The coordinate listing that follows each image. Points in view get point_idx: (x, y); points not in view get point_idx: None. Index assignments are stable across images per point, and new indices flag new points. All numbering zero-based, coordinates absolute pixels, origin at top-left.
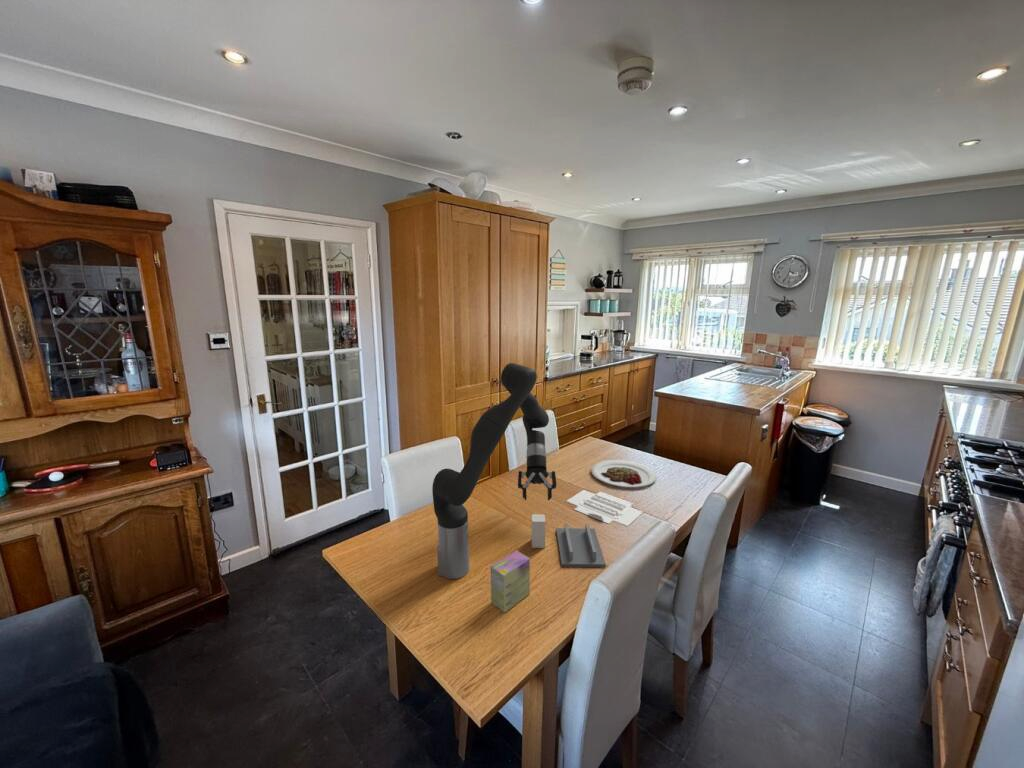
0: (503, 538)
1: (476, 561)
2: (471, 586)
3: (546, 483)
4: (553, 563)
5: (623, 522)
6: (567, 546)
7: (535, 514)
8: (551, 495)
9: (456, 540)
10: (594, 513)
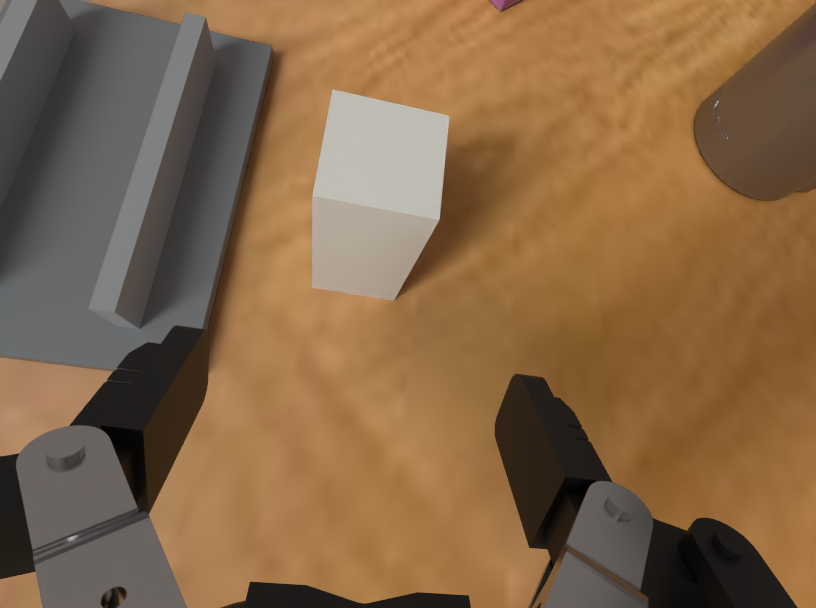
0: (560, 339)
1: (672, 177)
2: (665, 48)
3: (118, 518)
4: (309, 88)
5: None
6: (187, 147)
7: (404, 211)
8: (129, 359)
9: None
10: None
